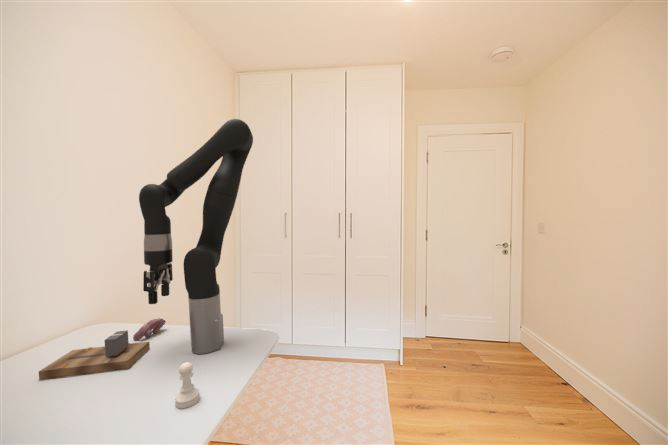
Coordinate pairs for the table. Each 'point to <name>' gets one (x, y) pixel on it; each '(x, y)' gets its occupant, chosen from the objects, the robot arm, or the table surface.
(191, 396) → the chess pawn
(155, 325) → the video game controller
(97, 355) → the fader base
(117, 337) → the fader cap
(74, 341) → the table surface
